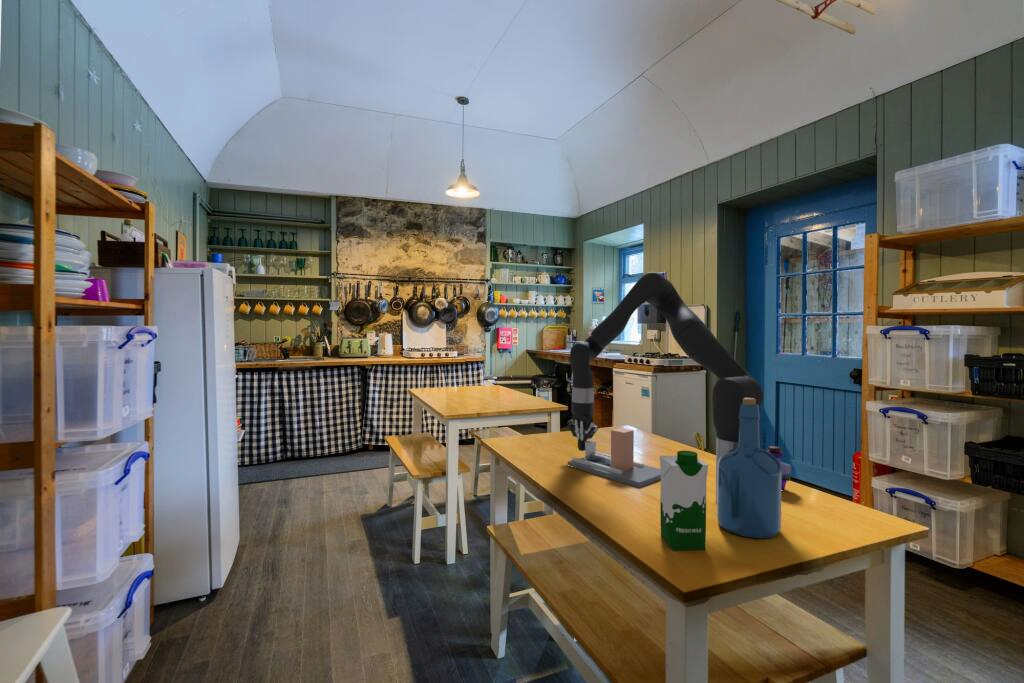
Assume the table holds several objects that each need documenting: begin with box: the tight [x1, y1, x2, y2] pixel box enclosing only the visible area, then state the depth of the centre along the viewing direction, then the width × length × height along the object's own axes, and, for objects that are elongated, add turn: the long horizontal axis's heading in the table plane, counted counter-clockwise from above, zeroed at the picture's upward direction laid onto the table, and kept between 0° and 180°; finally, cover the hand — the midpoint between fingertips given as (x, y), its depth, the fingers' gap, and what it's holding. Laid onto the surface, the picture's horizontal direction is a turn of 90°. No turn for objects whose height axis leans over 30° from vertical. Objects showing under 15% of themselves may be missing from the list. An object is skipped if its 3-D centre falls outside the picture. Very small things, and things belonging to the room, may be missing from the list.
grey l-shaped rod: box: [584, 439, 611, 466], centre depth 158 cm, size 4×12×6 cm, turn 41°
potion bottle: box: [765, 445, 792, 490], centre depth 137 cm, size 9×9×12 cm
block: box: [610, 427, 635, 471], centre depth 152 cm, size 5×5×12 cm
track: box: [567, 451, 661, 488], centre depth 154 cm, size 16×28×2 cm, turn 41°
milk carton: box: [659, 450, 709, 551], centre depth 103 cm, size 9×9×20 cm
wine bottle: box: [716, 398, 782, 539], centre depth 110 cm, size 14×13×30 cm
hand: (582, 450), depth 165 cm, fingers closed
